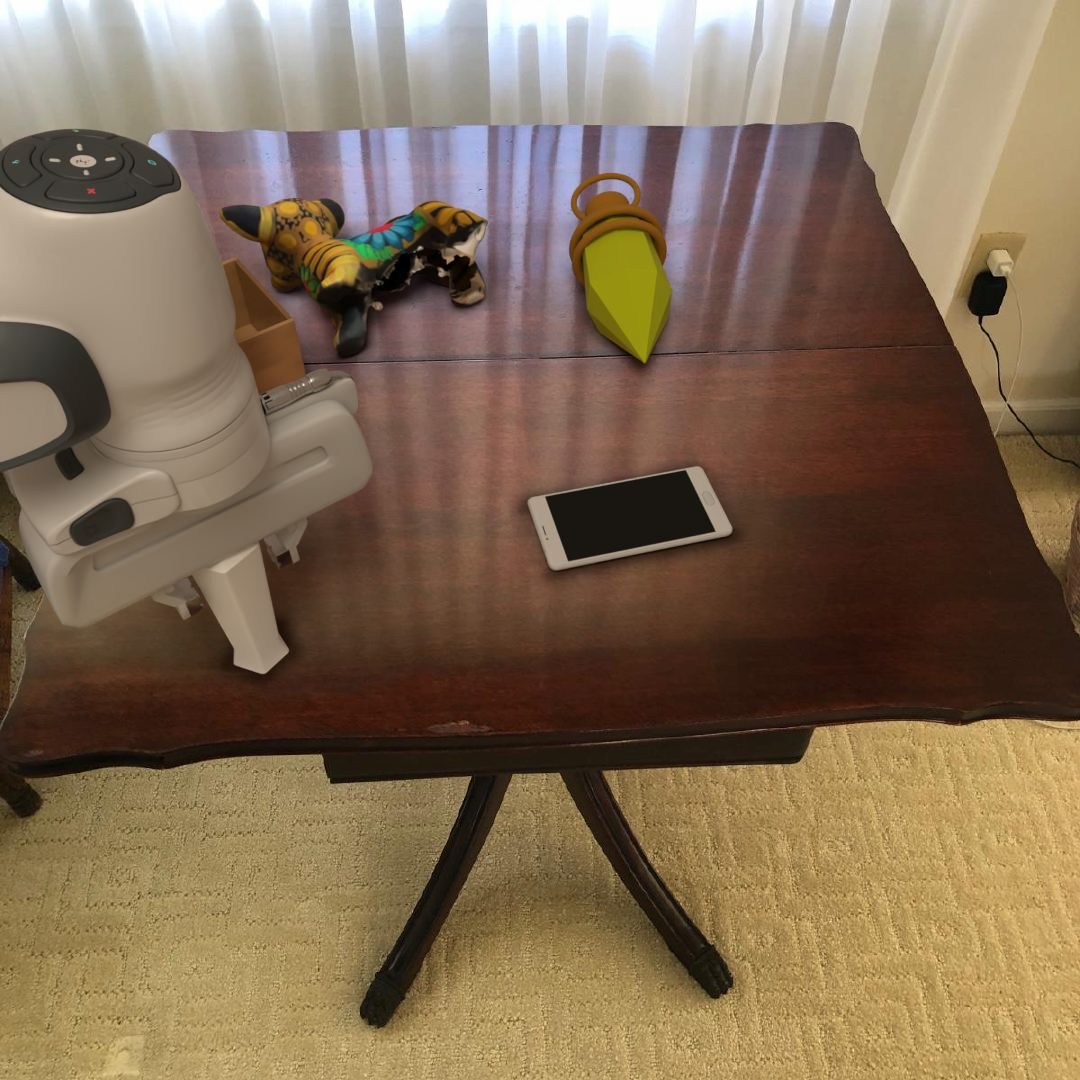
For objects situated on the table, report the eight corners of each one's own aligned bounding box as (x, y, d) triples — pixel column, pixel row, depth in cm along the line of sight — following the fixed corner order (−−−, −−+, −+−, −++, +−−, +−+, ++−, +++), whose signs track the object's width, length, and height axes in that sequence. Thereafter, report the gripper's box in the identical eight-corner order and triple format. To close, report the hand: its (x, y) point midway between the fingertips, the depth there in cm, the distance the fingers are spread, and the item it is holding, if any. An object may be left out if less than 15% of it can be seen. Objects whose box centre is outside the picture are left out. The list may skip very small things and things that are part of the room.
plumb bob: (699, 384, 90) (647, 200, 103) (693, 316, 82) (638, 126, 95) (602, 406, 91) (562, 221, 104) (587, 341, 83) (546, 150, 96)
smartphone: (735, 531, 77) (550, 568, 75) (734, 536, 78) (550, 573, 75) (701, 463, 82) (525, 496, 79) (700, 468, 82) (525, 501, 80)
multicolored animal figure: (488, 333, 99) (384, 240, 106) (514, 223, 90) (398, 129, 97) (319, 390, 88) (214, 281, 95) (330, 270, 79) (213, 160, 86)
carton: (206, 432, 84) (183, 366, 78) (154, 363, 89) (129, 296, 84) (308, 386, 88) (294, 320, 82) (253, 323, 93) (236, 256, 87)
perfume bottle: (288, 679, 69) (241, 545, 57) (225, 677, 69) (166, 543, 57) (299, 624, 72) (257, 486, 60) (239, 623, 72) (185, 484, 60)
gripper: (323, 329, 59) (353, 484, 70) (-27, 476, 51) (67, 626, 62) (378, 387, 56) (400, 540, 67) (14, 554, 48) (106, 698, 59)
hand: (238, 583), depth 64 cm, fingers open, 5 cm apart
